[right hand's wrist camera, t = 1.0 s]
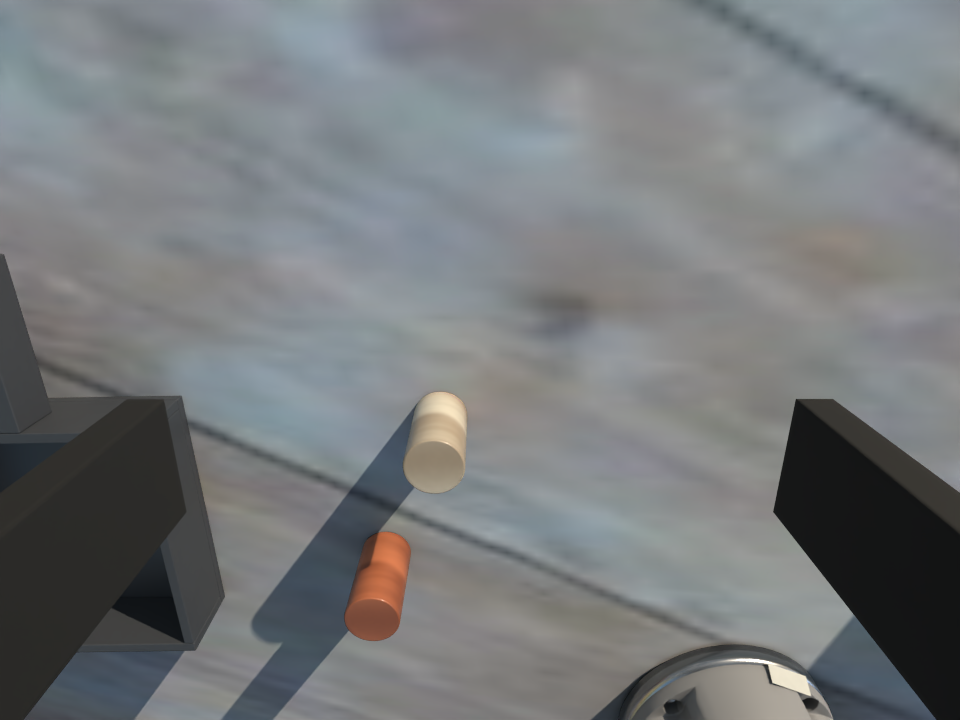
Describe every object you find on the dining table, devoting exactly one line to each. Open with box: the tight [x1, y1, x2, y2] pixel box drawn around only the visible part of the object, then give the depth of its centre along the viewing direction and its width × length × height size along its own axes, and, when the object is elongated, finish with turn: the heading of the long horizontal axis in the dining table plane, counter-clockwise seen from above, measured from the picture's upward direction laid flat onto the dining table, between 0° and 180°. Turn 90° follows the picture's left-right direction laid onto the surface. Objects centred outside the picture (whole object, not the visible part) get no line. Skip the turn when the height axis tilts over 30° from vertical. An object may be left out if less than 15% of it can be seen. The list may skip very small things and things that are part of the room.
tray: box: [0, 254, 225, 652], centre depth 35 cm, size 24×15×5 cm, turn 1°
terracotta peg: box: [344, 532, 411, 641], centre depth 37 cm, size 3×3×6 cm
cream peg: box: [403, 392, 467, 494], centre depth 33 cm, size 3×3×6 cm
